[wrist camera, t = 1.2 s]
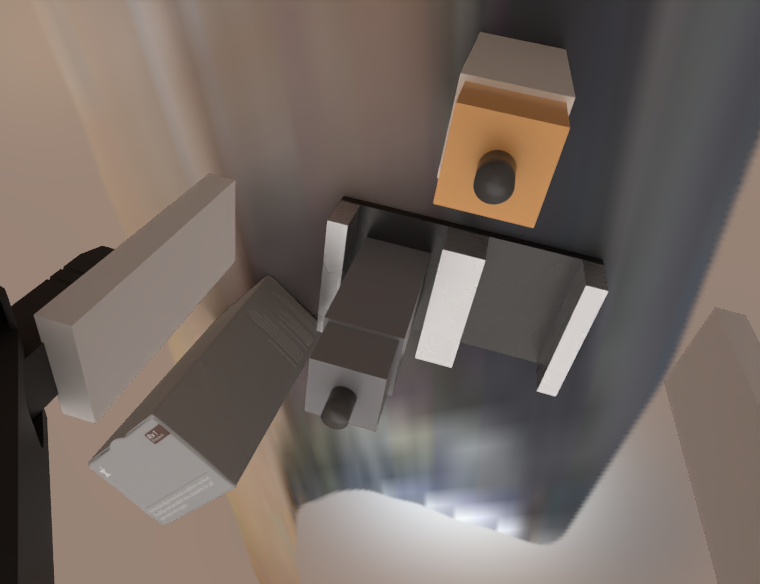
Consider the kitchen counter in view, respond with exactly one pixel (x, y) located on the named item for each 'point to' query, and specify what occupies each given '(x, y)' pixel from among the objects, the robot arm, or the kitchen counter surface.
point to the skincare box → (211, 406)
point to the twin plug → (365, 335)
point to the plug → (506, 129)
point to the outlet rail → (478, 287)
